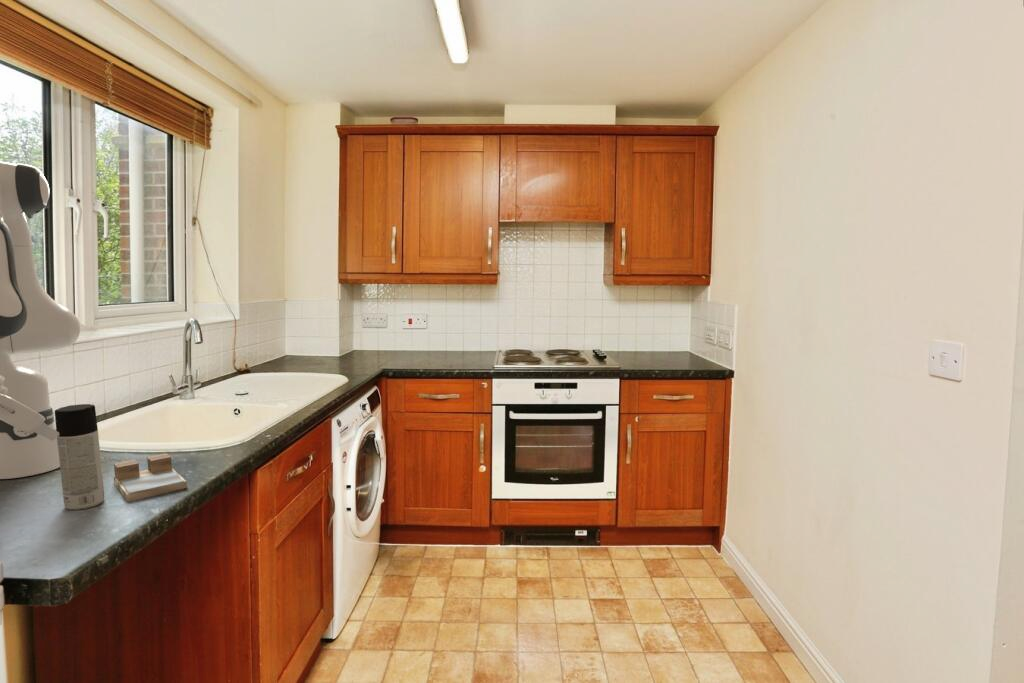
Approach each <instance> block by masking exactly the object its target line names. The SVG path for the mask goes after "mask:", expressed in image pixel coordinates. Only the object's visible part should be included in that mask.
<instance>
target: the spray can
mask: <svg viewBox="0 0 1024 683" xmlns="http://www.w3.org/2000/svg"><path fill="white" fill-rule="evenodd" d="M54 422H55V426H56V431H57V432H59V436H58V437H57V443H58V452H59V461H60V467H59V468H60V478H61V488H62V497H63V505H64V508H65V509H66V510H68V511H75V510H77V511H78V510H80V511H81V510H85V509H90V508H93V507H96V506H98V505H101V504H102V503H103V502H104V501H105V487H104V478H103V471H102V470H103V469H102V468H103V466H102V462H101V461H102V458H101V450H100V438H99V437H100V436H99V429H98V421H97V412H96V405H94V404H90V403H87V404H86V403H84V404H80V403H79V404H73V405H72V404H70V405H66V406H63V407H60V408H57V409H55V410H54Z"/></svg>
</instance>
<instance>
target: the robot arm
mask: <svg viewBox="0 0 1024 683" xmlns="http://www.w3.org/2000/svg"><path fill="white" fill-rule="evenodd" d="M49 186H50V185H49V182H48V181H47V179H46V177H45V176H44V173H43V172H42V170H40V169H39V168H38V167H36V166H34V165H30V164H26V163H21V162H19V163H17V164H16V163H11V162H4V161H0V480H9V479H17V478H24V477H29V476H34V475H35V476H36V475H39V474H44V473H47V472H50V471H54V470H56V469H59V468H60V461H59V452H58V443H57V437H58V436H59V432H57V431H56V424H54V423H55V412H54V410H53V408H52V407H51V404H50V393H49V388H48V386H49V385H48V379H47V378H46V376H45V375H44V374H42V373H41V372H39V371H37V370H35V369H33V368H29V367H26V366H21V365H18V364H16V363H15V362H13V361H12V359H11V356H12V355H16V354H29V353H42V352H51V351H56V350H60V349H65V348H69V347H71V346H73V345H74V344H75V343H76V342H77V340H78V338H79V336H80V332H81V326H80V324H81V323H80V321H79V319H78V317H77V316H76V314H75V313H74V312H73V311H72V310H70V309H69V308H67V307H65V306H63V305H61V304H60V303H58V302H57V301H56V300H55V299H53V298H52V297H51V296H50V295H49V294H48V292H46V290H45V289H44V287H43V286H42V284H41V281H40V280H39V276H38V274H37V269H36V263H35V256H34V248H33V241H32V240H33V239H32V235H31V230H30V226H29V222H28V220H29V219H30V220H31V219H33V217H34V215H35V214H38V213H40V212H42V211H43V210H44V209H45V208H46V207H47V205H48V201H49V198H50V187H49ZM27 219H28V220H27Z"/></svg>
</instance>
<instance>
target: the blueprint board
mask: <svg viewBox="0 0 1024 683" xmlns="http://www.w3.org/2000/svg"><path fill="white" fill-rule="evenodd" d="M146 460H147V469H144V470H140V466H139V464H140V463H139V462H138V461H137V459H130V460H125V461H119V462H114V463H113V468H114V469H113V470H114V476H113V484H114V486H115V487H116V488H117V490H118V491H119V492H120V494H121V495H122V496H123V498H124V499H125V501H126V502H132V501H136V500H141V499H145V498H150V497H155V496H159V495H163V494H167V493H170V492H176V491H179V490H185V489H188V484H187V482H188V481H187V480H186V479H185V478H184V477H183V476H181V474H180V473H178V472H177V471H176V470H175V469H174V468H173V463H172V456H171V455H169V454H168V453H167V452H166V453H160V454H155V455H149V456H147V457H146ZM184 488H185V489H184Z"/></svg>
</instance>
